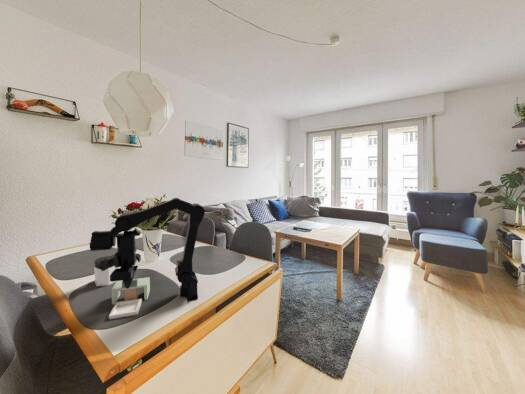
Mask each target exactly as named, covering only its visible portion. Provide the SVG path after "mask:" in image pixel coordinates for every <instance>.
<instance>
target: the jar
mask: <svg viewBox="0 0 525 394" xmlns="http://www.w3.org/2000/svg"><path fill="white" fill-rule="evenodd" d="M109 256H110V255H107V256H101V257H99V258H96V259H95V260H94V263H93V264H94V265H93V266H94V267H93V269H94V284H95V285H96V287H104V286H105V287H106V286H110V285H112V284H115V283H116V282H117V281H113V282H111V281H110V275H111V273H112V272H113V271H114V270H115V269H118V267H117V268H115V266H113V267H111V268H108V269H106V270H105V271H101V269H98V263H99V262H100V261H101V260H102V259H104V258H107V257H109Z"/></svg>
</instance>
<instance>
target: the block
mask: <svg viewBox="0 0 525 394" xmlns="http://www.w3.org/2000/svg"><path fill="white" fill-rule="evenodd" d="M123 297H124V299H123V301H127V300H134V299H138V297H139V288H135V289H127V290H123Z"/></svg>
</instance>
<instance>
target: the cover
mask: <svg viewBox="0 0 525 394" xmlns="http://www.w3.org/2000/svg"><path fill="white" fill-rule="evenodd" d="M150 278H151V277H140V278H133V280H132V283H131V285H130V288H127V289H135V288H138V289H141V288H143V291H144V292H143V293H144V295H143V296H144V298H143V299H144V300H148V298H149V294H150V291H151V284H150V283H151V279H150ZM127 289H126V287H125V285H124V282H123V280H121V281H116V282H114V285H113V287H112V288H111V290H110V291H111V305H113V306H114V305H115V304H116V302H118V299H119V297H120V296H121V291H124V290H127Z"/></svg>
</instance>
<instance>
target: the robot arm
mask: <svg viewBox="0 0 525 394" xmlns="http://www.w3.org/2000/svg"><path fill="white" fill-rule="evenodd" d="M173 210H179V211H181V212H183V213H185V214H187V219H188V222H187V223H188V225H187V231H186V232H187V233H186V235H185V236H186V237H185V241H184V242H185V243H184V246H183V252H182V257H181V259H180V260H176V265H175V266H176V267H175V269H174V270H175V271H174V272H175V273H174V274H175V276H176V278H177V281H178V282H179V283H180V284H181V285H180V286H179V297H180V298H186V301H194V300H198V298H199V296H198V284H199V283H198V282H199V281H198V277H197V274H196V272H195V271H194V270H193V256H194V252H195V246H196V242H197V236H198V230H199V227H200V225H201V223H203V222H202V221H203V220H204V216H205V214H206V213H205V208H204V207H203V206H202V205H201V204H199V203H190V202H188V201H185V200H183V199H180V198H178V197H172V199H169V200H166V201H164V202H161V203H159V204H155V205H153V206H151V207H148V208H147V207H146V208H145V209H142V210H137V211H135V210H134V211H130V212H129V211H128V212H125V213H122V214H120V215H119V216H118V217H117V218H116V220H115V222H114V227H112V228H111V229H110V230H104V231H102V230H101V231H100V230H99V231H98V230H95V231H94V230H93V232H92V233H91V236H90V243H89V250H90V252H97V251H98V252H99V251H109V250H112V248H113V247H116V252H115V253H114V254H112V255H108V256H109V257H107V258H104V259H102V260H101V261H100V262H99V263H98V269H101V271H105V270H106V269H108V268H111V267H113V266H115V268H117V269H115V270H114V271H113V272H112V273H111V275H110V281H111V282H113V281H116V282H117V281H122V280H123V282H124V285H125V287H126V289H127V288H130V285H131V283H132V280H133V279H135V278H134V277H135V274H136V272H137V269H138V268H139V266H138V265H136V263H140V262H141V261H142V256H141V254H140V253H136V252H137V249H138V248H137V247H136V237H138V236H139V237H140V235H141V232H142V231H140V230H138V229H137V226H139V225H140V224H142V223H144V222H146V221H147V220H150V219H152V218H154V217H158V216H160V215H163V214H166V213H168V212H171V211H173ZM133 228H134V229H133ZM132 229H133V230H132Z"/></svg>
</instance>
